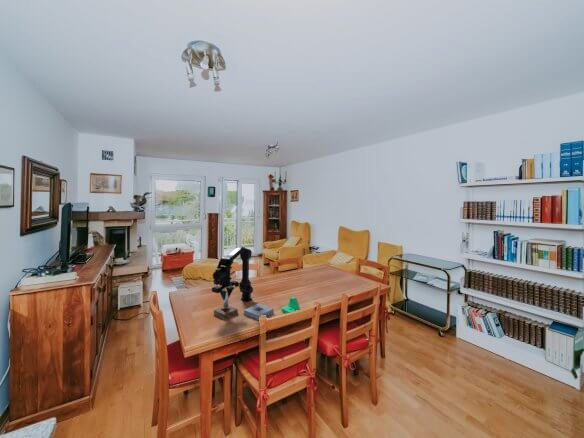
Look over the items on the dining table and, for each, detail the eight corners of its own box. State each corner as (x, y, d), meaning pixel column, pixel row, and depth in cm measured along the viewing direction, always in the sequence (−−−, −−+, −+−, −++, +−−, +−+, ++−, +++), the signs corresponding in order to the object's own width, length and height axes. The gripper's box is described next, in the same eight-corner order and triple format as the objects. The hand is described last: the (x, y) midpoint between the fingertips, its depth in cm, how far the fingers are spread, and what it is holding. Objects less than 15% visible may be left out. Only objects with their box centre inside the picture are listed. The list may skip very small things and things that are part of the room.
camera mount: (280, 311, 174) (281, 297, 173) (289, 308, 179) (289, 294, 178) (292, 317, 165) (292, 302, 164) (300, 314, 170) (301, 299, 169)
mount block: (226, 309, 175) (226, 304, 175) (237, 313, 169) (237, 309, 168) (213, 314, 166) (213, 310, 166) (224, 319, 160) (224, 314, 160)
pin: (226, 305, 169) (226, 290, 168) (229, 306, 167) (229, 291, 167) (222, 306, 167) (222, 292, 166) (225, 307, 165) (225, 293, 164)
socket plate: (258, 307, 179) (258, 303, 179) (273, 312, 171) (273, 308, 170) (243, 314, 167) (244, 310, 167) (259, 320, 159) (259, 315, 159)
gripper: (228, 271, 178) (228, 292, 179) (206, 277, 163) (206, 300, 164) (239, 274, 171) (239, 296, 172) (217, 280, 156) (217, 304, 157)
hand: (225, 299), depth 167 cm, fingers closed on pin, 3 cm apart
